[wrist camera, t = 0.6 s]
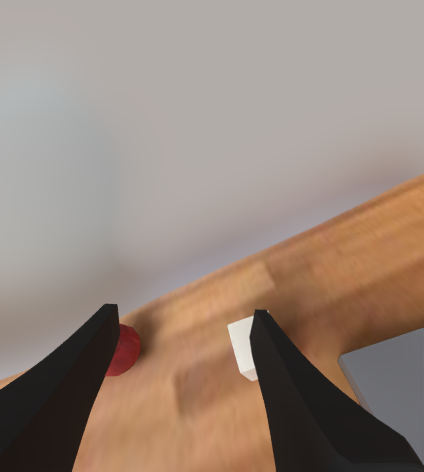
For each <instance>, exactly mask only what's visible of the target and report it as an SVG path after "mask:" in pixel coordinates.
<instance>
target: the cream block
mask: <svg viewBox="0 0 424 472" xmlns="http://www.w3.org/2000/svg"><path fill="white" fill-rule="evenodd" d="M267 311H268V310H267ZM268 312H269V311H268ZM253 318H254V316H251V317H248V318H245V319H243V320H240V321H237V322H234V323H232V324H229V325H227V326H228V330H229V334H230V337H231V341H232V345H233V348H234V352H235V355H236V359H237V363H238V366H239V370H240V373H241V374H242V375H244V376H245V377H247V378H248V379H250V380H251V381H254V380H257V379H258V377H257V374H256V370H255V366H254V362H253V358H252V353H251V346H250V339H249V336H250V331H251V327H252V322H253Z"/></svg>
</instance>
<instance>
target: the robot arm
mask: <svg viewBox="0 0 424 472" xmlns="http://www.w3.org/2000/svg"><path fill="white" fill-rule="evenodd" d="M119 337H120V325H119V316H118V306H117V304H104V305H103V306H102V307H101V308H100V309H99V310H98V311H97V312H96V313H95V314H94V315H93V316H92V317H91V318H90V319H89V320H88V321H87V322H85V324H84V325H82V326H81V327H80V328H79V329H78V330H77V331H76V332H75V333H74V334H73V335H71V336H70V337H69V338H68V339H67V340H66V341H65V342H63V344H61V345H60V346H59V347H58V348H57V349H55V350H54V351H53V352H52V353H50V354H49V355H48V356H47V357H46V358H44V359H43V360H42V361H40V362H39V363H38V364H36V365H35V366H34V367H32V368H31V369H30V370H28V371H27V372H26V373H24V374H23V375H21V376H20V377H18V378H17V379H15V380H14V381H12V382H11V383H9V384H8V385H6V386H5V387H3V388H2V389H0V472H72V469H73V465H74V462H75V459H76V456H77V452H78V449H79V446H80V443H81V439H82V436H83V433H84V430H85V427H86V424H87V421H88V418H89V415H90V412H91V409H92V407H93V404H94V401H95V399H96V397H97V394H98V392H99V389H100V387H101V385H102V382H103V380H104V378H105V375H106V373H107V371H108V368H109V366H110V363H111V361H112V358H113V356H114V354H115V350H116V347H117V344H118V340H119ZM249 339H250V346H251V353H252V358H253V362H254V366H255V370H256V374H257V377H258V381H259V385H260V388H261V392H262V396H263V400H264V404H265V408H266V412H267V418H268V424H269V429H270V435H271V441H272V447H273V453H274V459H275V466H276V472H424V465H423V463H422V462H421V460H420V459H419V457H418V455H417V454H416V452H415V451H414V449H413V448H412V447H411V445H410V444H409V442H408V441H407V440H406V438H405V437H404V436H402V435H401V434H399V433H398V432H396V431H395V430H393V429H392V428H391V427H389V426H388V425H386V424H385V423H383V422H382V421H380V420H379V419H377V418H376V417H375V416H373V415H372V414H370V413H369V412H368V411H366V410H365V409H364V408H362V407H361V406H360V405H358V404H357V403H356V402H355V401H353V400H352V399H351V398H350V397H348V396H347V395H346V394H345V393H343V392H342V391H341V390H340V389H339V388H338V387H336V386H335V385H334V384H333V383H332V382H331V381H329V380H328V379H327V378H326V377H325V376H324V375H323V374H322V373H321V372H320V371H319V370H318V369H317V368H316V367H315V366H314V365H313V364H312V363H311V362H310V361H309V360H308V359H307V358H306V357H305V356H304V355H303V354H302V353H301V352H300V351H299V350H298V348H297V347H296V346H295V345H294V344H293V343H292V341H291V340H290V339H289V338H288V337H287V335H286V334H285V333H284V332H283V330H282V329H281V328H280V327H279V325H278V324H277V323H276V322H275V320H274V319H273V318H272V316H271V315H270V314H269V312H268V311H267V310H256V309H255V313H254V318H253V322H252V327H251V331H250V336H249Z"/></svg>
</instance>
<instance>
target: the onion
mask: <svg viewBox="0 0 424 472" xmlns="http://www.w3.org/2000/svg"><path fill="white" fill-rule="evenodd" d="M119 325H120V337H119V340H118V344H117V347H116V350H115V354H114V356H113V358H112V361H111V363H110V366H109V368H108V371H107V373H106V375H105V376H119V375H120V374H122V373H124V372H126V371H127V370H129V369H130V368H131V367H132V366H133V365H134V364H135V362H136V360H137V358H138V357H139V353H140V349H141V347H140V338H139V336H138V334H137V333H136V331H135V330H134V329H133V328H132V327H129V326H126V325H123V324H119Z"/></svg>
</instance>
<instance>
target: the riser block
mask: <svg viewBox="0 0 424 472" xmlns="http://www.w3.org/2000/svg"><path fill="white" fill-rule="evenodd" d="M337 362H338V363H339V365H340V367H341V369H342V371H343V373H344V374H345V376H346V378H347V380H348V382H349V384H350V385H351V387H352V389H353V391H354V393H355V395H356V397H357V398H358V400H359V402H360V404H361V406H362V408H364V409H365V410H366V411H368V412H369V413H370V414H372V415H373V416H375V417H376V418H377V419H379V420H380V421H382V422H383V423H385V424H386V425H388V426H389V427H391V428H392V429H393V430H395V431H396V432H398V433H399V434H401V435H402V436H404V437H405V438H406V440H407V441H408V442H409V444H410V445H411V447H412V448H413V449H414V451H415V452H416V454H417V455H418V457H419V459H420V460H421V462H422V463H423V465H424V328H421V329H418V330H415V331H412V332H409V333H406V334H403V335H400V336H397V337H394V338H391V339H388V340H385V341H382V342H379V343H376V344H373V345H370V346H367V347H364V348H361V349H358V350H355V351H352V352H349V353H346V354H343V355H340V357H339V359H338V361H337Z"/></svg>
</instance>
